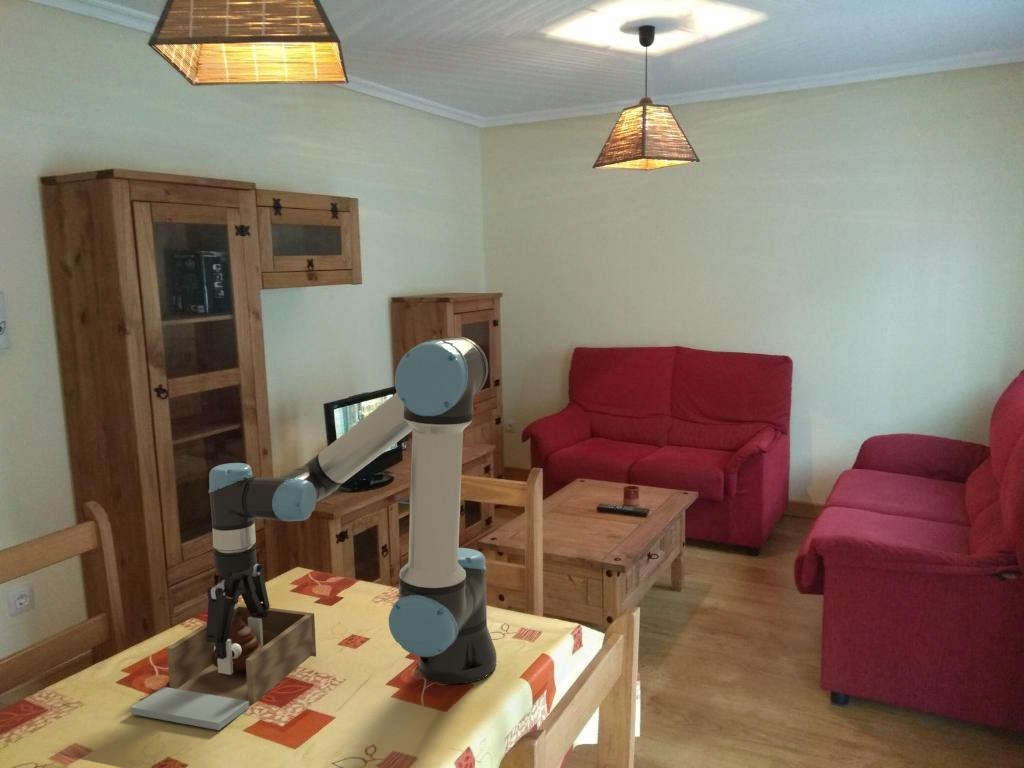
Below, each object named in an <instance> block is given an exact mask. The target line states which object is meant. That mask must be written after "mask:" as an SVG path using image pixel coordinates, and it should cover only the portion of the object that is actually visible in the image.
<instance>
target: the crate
mask: <svg viewBox="0 0 1024 768" xmlns="http://www.w3.org/2000/svg"><path fill="white" fill-rule="evenodd" d="M265 612H268V615H267V617H262V618H263V647H262V648H261V649H259V650H258V651H257V652H255V653H254V654H253V655H251V656H250V657H249V658H247V659H246V670H233V673H232V674H231V675H229V674H223V673H218V667H216V666H215V665H214V664H213V662H212V654H213V652H214V647H215V643H213V642H207V641H206V629H207V622H206V623H204V624H203V625H201V626H200V627H198V628H196V629H194V630H192V632H189V633H188V634H186V635H185V636H184V637H182V638H180V639H178V640H177V641H175V642H174V643H173V644H171V645H169V646H167V647H166V652H167V653H166V655H167V664H168V665H167V666H168V667H167V668H168V680H169V688H174V689H180V690H186V691H192V692H198V693H203V694H209V695H215V696H221V697H227V698H233V699H239V700H245V701H249V704H255V703H257V702H258V701H259V700H260V699H261V698H263V697H264V696H265V695H266V694H267V693H269V692H270V691H271V690H272V689H273V688H275V687H276V686H277V685H278V684H279V683H281V682H282V681H283V680H284V679H285V678H287V677H288V676H289V675H290V674H291V673H292V672H294V670H296V669H297V668H299V666H300V665H302V664H303V663H304V662H306V660H307V659H309V658H311V657H315V658H316V657H317V645H316V644H317V643H316V641H317V639H316V625H315V624H316V622H315V621H316V620H315V613H314V612H306V611H301V610H300V611H299V610H293V609H282V608H275V607H269V609H268V610H265ZM238 616H242V620H243V621H244V622H245V624H246V625H248V618H249V617H253V616H251V615H250V613H249V611H248V608H247V606H246V604H245V603H244V604H242V603H237V604H235V607H234V612H233V617H232V620H233V619H234V618H236V617H238Z"/></svg>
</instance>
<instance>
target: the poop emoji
mask: <svg viewBox="0 0 1024 768" xmlns="http://www.w3.org/2000/svg"><path fill="white" fill-rule="evenodd" d="M228 639H231V645H232V661H233V670H246V659H247V658H249V657H250V656H251V655H253V654H254V653H255V652H257V651H258V650H259V649H261V648H262V647H263V646H262V645H261V644H260V643H259V642H258V639H257V637H256V636H255V635H254V634H253V631H252V629H251V628H250V627H249V626H248V625H246V624H245V622H244V621H243V620H242V616H238V617H236V618H234V619H233V620H232V621H231V626H230V631H229V635H228ZM212 662H213V664H214V665H215V666H216V667H218V661H217V658H216V649H215V647H214V652H213V654H212Z"/></svg>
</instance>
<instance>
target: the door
mask: <svg viewBox="0 0 1024 768" xmlns="http://www.w3.org/2000/svg"><path fill="white" fill-rule="evenodd" d="M249 708H250V703H249V701H245V700H239V699H233V698H227V697H221V696H215V695H209V694H203V693H198V692H192V691H186V690H180V689H174V688H170V687H168V686H163V687H161V688H160V689H157V690H156V691H155V692H153V693H151V694H150V695H148V696H147V697H145V698H143V699H142V700H140V701H139V702H136V703H134V704H133V705H131V706H130V714H131V715H134V716H135V715H136V716H140V717H145V718H151V719H157V720H161V721H167V722H173V723H178V724H184V725H189V726H194V727H195V726H196V727H200V728H205V729H210V730H217V731H220V730H222V728H224V727H225V726H227V725H228V724H229V723H231V722H232V721H233V720H235V719H236V718H237V717H239V716H240V715H242V713H244V712H245V711H247V710H248V709H249Z"/></svg>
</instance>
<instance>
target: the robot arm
mask: <svg viewBox="0 0 1024 768" xmlns="http://www.w3.org/2000/svg"><path fill="white" fill-rule="evenodd" d="M488 363H489V362H488V359H487V357H486V354H485V352H484V351H483V349H482V348H481V347H480V346H479V345H478V344H477V343H476V342H475V341H473V340H471V339H469V338H467V337H463V336H455V335H454V336H447V337H444V338H438V339H435V340H434V339H433V340H431V339H429V340H426V341H423V342H421V343H419V344H417V345H416V346H414V347H413V348H411V349H409V350H408V351H407V352H406V353H405V354H404V355H403V356H402V357H401V359H400V361H399V362H398V365H397V368H396V369H395V370H396V371H395V377H394V387H395V391H396V392H395V393H394V394H393V395H392V396H390V397H388V398H387V400H385V401H384V402H382V403H381V404H380V405H379V406H377V407H376V408H375V409H373V410H372V411H371V412H370V413H369V414H367V415H366V416H365V417H363V418H362V419H361V420H360V421H359V422H357V423H356V424H355V425H353V426H352V427H351V428H349V430H347V431H346V432H344V433H342V435H340V436H339V437H338V438H337V439H336V440H334V441H333V442H332V443H330V444H329V445H328V446H327V447H325V448H324V449H323V450H321V451H320V452H319V453H318V454H317V455H315V456H314V457H312V458H310V460H308V462H306V463H305V464H303V465H302V466H299V467H297V468H296V469H293V470H292V471H289V472H287V473H284V474H283V475H280V476H278V477H260V476H253V471H252V467H251V465H249V464H248V463H243V462H231V463H224V464H219V465H216V466H214V467H213V468H211V470H210V471H209V475H208V476H209V477H208V478H209V479H208V482H209V483H208V484H209V486H208V487H209V489H208V494H209V495H208V496H209V504H210V512H211V528H212V545H213V548H214V550H213V553H212V554H213V565H214V569H215V571H216V572H218V574H219V577H218V581H217V585H215V586H208V588H207V590H206V591H207V598H208V604H207V605H208V606H207V616H206V617H207V619H206V623H207V629H206V641H207V642H213V643H215V649H216V658H217V661H218V673H223V674H229V675H231V674H232V673H233V661H232V645H231V639H228V635H229V631H230V626H231V621H232V617H233V612H234V607H235V605H236V604H239V600H240V597H241V598H242V599H243V602H244V604H245V605H246V606H247V608H248V611H249V613H250V615H251V616H253V617H249V618H248V626H249V627H250V628H251V629H252V631H253V634H254V635H255V636H256V637H257V639H258V642H259V643H260V644H261V645H262V646H263V618H262V617H267V615H268V612H265V610H268V609H269V608H271V606H270V601H269V598H268V597H269V596H268V592H267V586H266V582H265V577H264V569H265V567H264V564H261V563H260V564H259V563H257V560H258V559H257V546H256V545H255V543H256V541H257V538H256V525H255V524H256V523H255V519H261V520H262V519H263V520H272V521H273V520H274V521H283V522H301V521H302V522H303V521H306V520H308V519H309V518H310V517H311V515H312V512H314V511H315V509H316V504H317V502H319V501H320V500H322V499H325V498H327V497H329V496H330V495H332V494H333V493H335V492H336V491H337V490H338V489H339V487H340V486H342V484H344V483H345V482H346V481H348V480H349V479H350V478H351V477H353V476H354V475H355V474H357V473H359V471H361V470H362V469H363V468H365V467H366V466H368V465H369V464H370V463H372V461H374V460H375V459H376V458H378V457H380V455H382V454H383V453H384V452H386V451H388V450H389V449H390V448H391V447H393V446H394V445H396V443H398V442H400V440H402V439H403V438H405V436H407V435H409V434H410V433H411V432H412V435H411V470H410V471H411V472H410V497H409V498H410V501H409V503H410V504H409V533H408V534H409V535H408V536H409V537H408V538H409V540H408V562H407V563H406V564H405V565H404V566H403V567H401V568H400V570H399V578H398V597H397V598H398V599H397V600H396V601H395V603H393V604H392V608H391V609H390V613H389V616H388V627H389V631H390V634H391V636H392V638H393V640H394V641H395V642H396V643H398V644H399V645H400V646H401V648H402V649H403V650H404V651H406V652H407V653H409V654H411V655H414V656H417V657H418V669H419V670H418V671H419V672H420V673H421V675H422V676H423V677H425V678H426V679H427V680H430V681H432V682H436V683H440V684H445V683H448V684H447V685H458V684H457V683H463V684H466V683H465V682H470V683H472V682H471V681H474V682H476V681H475V680H477V681H479V680H478V679H480V680H482V679H484V678H483V677H485V676H486V675H488V674H490V673H491V672H492V671H493V670H494V669H496V668H497V664H496V663H498V662H497V650H496V648H495V645H494V642H493V639H492V636H491V632H489V628H488V620H487V570H488V569H487V566H486V565H487V564H486V558H485V555H484V554H483V553H482V552H481V551H479V550H476V549H473V548H467V547H459V542H460V538H459V537H460V518H461V517H460V514H461V513H460V512H461V495H462V493H461V492H462V491H461V490H462V468H463V467H462V466H463V465H462V464H463V463H462V462H463V444H464V443H463V440H464V430H465V429H466V428H467V427H468V426H470V425H471V423H472V422H473V417H474V416H473V415H474V396H475V395H477V394H478V393H479V392H480V391H481V390H482V388H483V387H484V385H485V383H486V381H487V378H488V374H489V364H488ZM495 667H496V668H495ZM494 671H495V670H494ZM494 671H493V672H494ZM493 672H492V673H493ZM492 673H491V674H492ZM491 674H490V675H491ZM488 676H489V675H488ZM486 677H487V676H486ZM486 677H485V678H486ZM481 678H482V679H481Z"/></svg>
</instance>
